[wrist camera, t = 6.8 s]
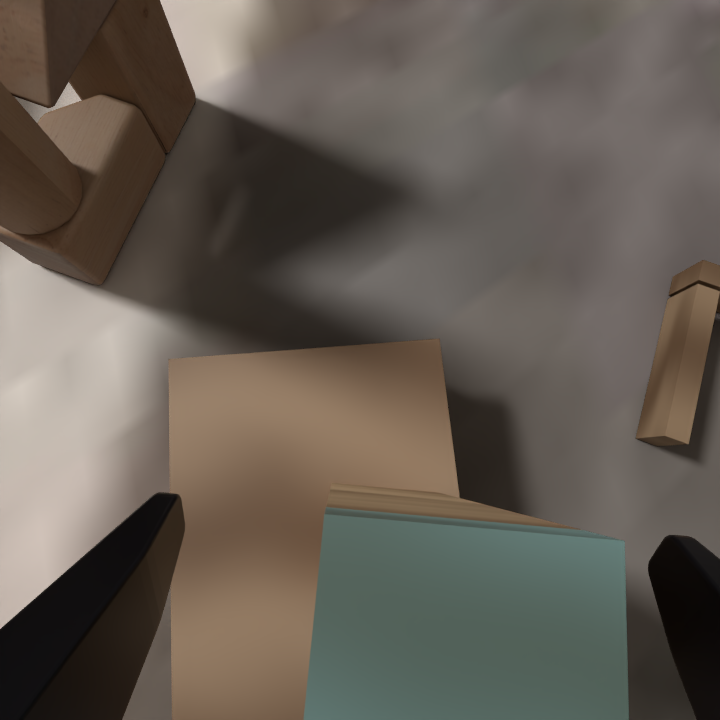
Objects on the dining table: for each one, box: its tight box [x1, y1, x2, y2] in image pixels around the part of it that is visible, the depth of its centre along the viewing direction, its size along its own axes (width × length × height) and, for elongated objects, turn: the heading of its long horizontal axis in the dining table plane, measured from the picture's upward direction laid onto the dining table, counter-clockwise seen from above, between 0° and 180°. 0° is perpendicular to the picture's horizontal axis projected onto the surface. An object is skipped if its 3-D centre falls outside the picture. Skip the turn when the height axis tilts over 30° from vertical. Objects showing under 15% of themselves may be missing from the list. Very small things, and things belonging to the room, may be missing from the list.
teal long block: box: [304, 483, 629, 720], centre depth 11 cm, size 4×4×11 cm
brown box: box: [169, 339, 460, 720], centre depth 18 cm, size 14×10×4 cm
